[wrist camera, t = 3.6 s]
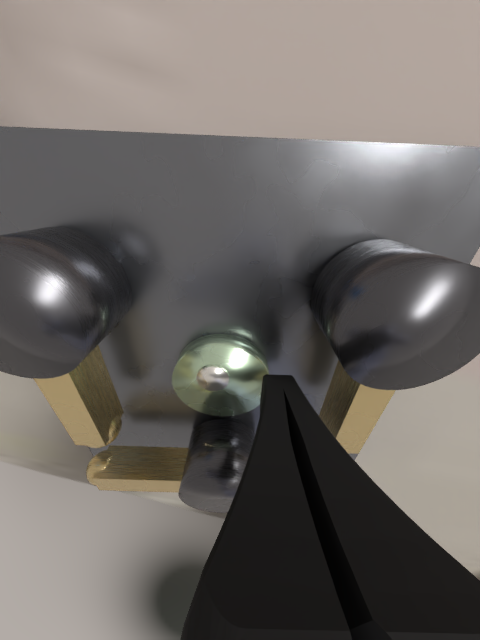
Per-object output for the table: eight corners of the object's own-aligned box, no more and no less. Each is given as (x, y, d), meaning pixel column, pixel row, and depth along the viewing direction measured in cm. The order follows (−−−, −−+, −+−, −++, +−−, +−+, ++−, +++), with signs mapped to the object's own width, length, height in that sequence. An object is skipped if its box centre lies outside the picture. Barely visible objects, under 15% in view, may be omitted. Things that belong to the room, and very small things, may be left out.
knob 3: (323, 236, 8) (367, 260, 5) (442, 241, 8) (549, 266, 5) (285, 411, 13) (296, 470, 10) (356, 414, 13) (387, 473, 10)
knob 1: (-4, 224, 8) (-140, 241, 5) (116, 228, 8) (49, 248, 5) (87, 405, 13) (45, 463, 10) (160, 408, 13) (137, 465, 10)
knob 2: (257, 420, 13) (261, 478, 11) (253, 457, 16) (255, 513, 13) (96, 415, 13) (59, 472, 11) (115, 453, 16) (88, 508, 13)
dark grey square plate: (343, 452, 18) (356, 486, 16) (104, 445, 18) (86, 478, 16) (498, 154, 8) (590, 141, 6) (-57, 131, 8) (-168, 108, 6)
